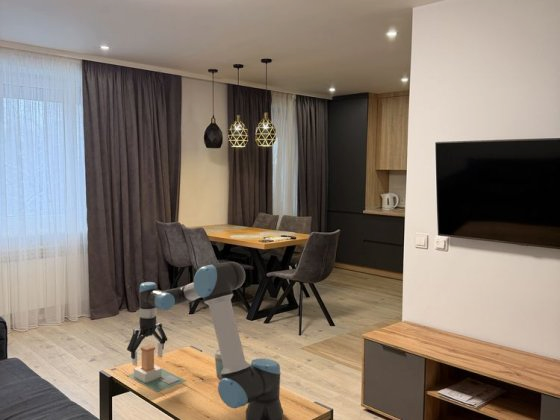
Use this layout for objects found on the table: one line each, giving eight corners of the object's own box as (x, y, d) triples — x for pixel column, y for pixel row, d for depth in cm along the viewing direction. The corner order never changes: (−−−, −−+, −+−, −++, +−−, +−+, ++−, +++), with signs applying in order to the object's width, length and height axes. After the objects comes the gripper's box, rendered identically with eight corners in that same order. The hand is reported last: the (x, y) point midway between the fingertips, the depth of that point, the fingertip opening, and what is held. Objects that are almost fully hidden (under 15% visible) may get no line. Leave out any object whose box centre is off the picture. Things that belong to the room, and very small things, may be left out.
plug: (154, 376, 227) (155, 347, 226) (146, 379, 224) (146, 349, 222) (149, 373, 230) (149, 344, 229) (140, 376, 227) (140, 347, 225)
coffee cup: (228, 381, 228) (229, 356, 227) (211, 379, 230) (211, 354, 229) (234, 373, 236) (234, 349, 235) (217, 371, 238) (217, 347, 237)
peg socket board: (186, 383, 224) (186, 372, 224) (157, 395, 212) (157, 383, 212) (155, 368, 240) (155, 357, 239) (126, 378, 228) (126, 367, 227)
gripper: (165, 308, 236) (165, 351, 238) (119, 320, 217) (119, 366, 219) (175, 312, 231) (174, 355, 233) (128, 324, 212) (128, 371, 214)
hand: (147, 360), depth 226 cm, fingers open, 13 cm apart
